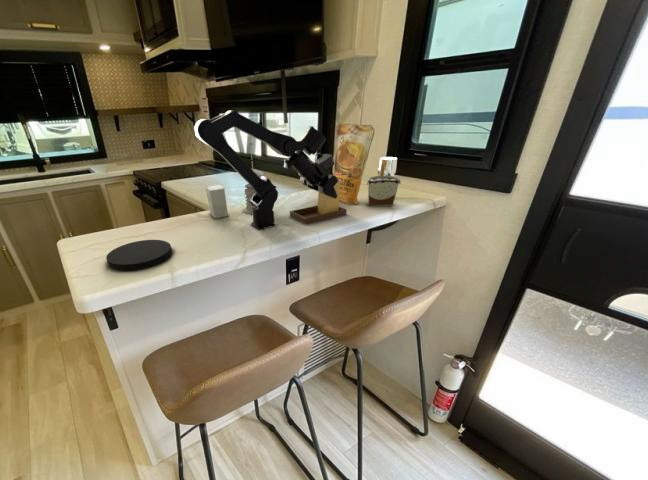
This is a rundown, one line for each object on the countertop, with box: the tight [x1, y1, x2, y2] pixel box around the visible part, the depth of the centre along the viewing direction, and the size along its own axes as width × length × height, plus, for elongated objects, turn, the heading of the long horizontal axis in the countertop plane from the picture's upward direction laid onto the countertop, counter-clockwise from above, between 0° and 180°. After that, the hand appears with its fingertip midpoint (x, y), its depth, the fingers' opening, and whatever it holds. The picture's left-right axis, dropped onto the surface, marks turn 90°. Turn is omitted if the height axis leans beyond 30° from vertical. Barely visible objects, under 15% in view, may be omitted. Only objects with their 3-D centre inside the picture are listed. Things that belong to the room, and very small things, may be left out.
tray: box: [289, 204, 347, 225], centre depth 114 cm, size 18×11×2 cm, turn 117°
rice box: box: [317, 180, 340, 214], centre depth 112 cm, size 5×6×12 cm
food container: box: [366, 175, 401, 207], centre depth 121 cm, size 12×6×10 cm, turn 84°
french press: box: [243, 140, 265, 215], centre depth 118 cm, size 10×12×25 cm
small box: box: [205, 184, 229, 219], centre depth 120 cm, size 8×6×10 cm
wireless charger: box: [105, 239, 173, 272], centre depth 90 cm, size 18×18×2 cm
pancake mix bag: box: [333, 123, 376, 205], centre depth 123 cm, size 7×19×28 cm, turn 27°
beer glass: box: [377, 156, 398, 177], centre depth 129 cm, size 7×7×15 cm
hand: (331, 195), depth 113 cm, fingers closed on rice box, 6 cm apart
